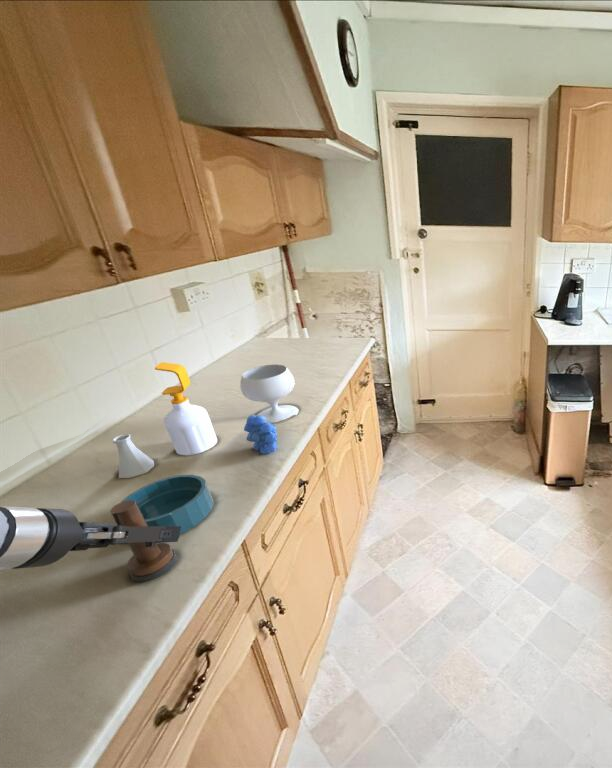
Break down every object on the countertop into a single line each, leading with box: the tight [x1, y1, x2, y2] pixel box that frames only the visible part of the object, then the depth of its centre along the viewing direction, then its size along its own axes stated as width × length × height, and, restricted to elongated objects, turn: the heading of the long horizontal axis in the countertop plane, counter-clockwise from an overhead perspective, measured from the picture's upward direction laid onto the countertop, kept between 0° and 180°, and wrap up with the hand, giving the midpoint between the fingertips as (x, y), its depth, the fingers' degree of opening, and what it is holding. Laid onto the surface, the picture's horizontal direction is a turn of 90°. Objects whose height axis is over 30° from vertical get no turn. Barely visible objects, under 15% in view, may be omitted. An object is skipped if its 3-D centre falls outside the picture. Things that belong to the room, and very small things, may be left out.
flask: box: [112, 433, 155, 479], centre depth 96 cm, size 7×7×10 cm
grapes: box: [243, 414, 278, 455], centre depth 104 cm, size 12×7×12 cm, turn 63°
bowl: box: [119, 474, 215, 535], centre depth 83 cm, size 15×15×6 cm
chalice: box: [240, 364, 300, 423], centre depth 120 cm, size 14×14×15 cm
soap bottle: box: [154, 361, 218, 456], centre depth 102 cm, size 9×9×25 cm
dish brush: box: [109, 500, 178, 583], centre depth 69 cm, size 6×6×15 cm
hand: (161, 534), depth 74 cm, fingers open, 5 cm apart
